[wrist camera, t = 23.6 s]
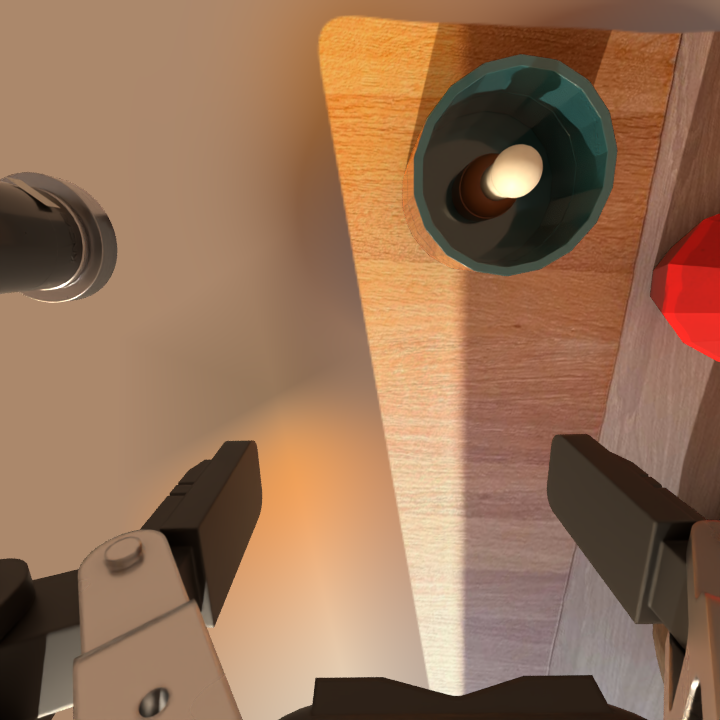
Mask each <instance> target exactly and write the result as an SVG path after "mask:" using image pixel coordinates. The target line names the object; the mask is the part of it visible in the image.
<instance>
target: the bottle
mask: <svg viewBox="0 0 720 720" xmlns="http://www.w3.org/2000/svg"><path fill="white" fill-rule="evenodd" d="M650 297H651V298H652V300H653V301H654V302H655V304H656V305H657V307H658V308H659V309H660V311H661V312H662V314H663V315H664V316H665V318H666V319H667V321H668V322H669V323H670V325H671V326H672V328H673V329H674V330H675V332H676V333H677V335H678V336H679V337H680V339H681V340H682V342H683V343H685V344H687V345H689V346H690V347H692V348H694V349H696V350H698V351H699V352H701V353H703V354H705V355H707V356H709V357H710V358H712V359H714V360H716V361H718V362H720V214H717V215H714V216H712V217H709V218H706V219H704V220H703V221H702V222H700V223H699V224H698V225H697V226H696V227H695V228H693V229H692V230H691V231H690V232H689V233H688V234H687V235H685V236H684V237H683V238H682V239H681V240H680V241H678V242H677V243H676V244H675V245H674V246H673V247H672V248H670V250H669V251H668V252H667V254H666V255H665V256H664V257H663V259H662V260H661V261H660V262H659V264H658V265H657V266H656V267H655V269H654V270H653V274H652V283H651V291H650Z"/></svg>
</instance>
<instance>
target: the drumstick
mask: <svg viewBox="0 0 720 720" xmlns="http://www.w3.org/2000/svg"><path fill="white" fill-rule="evenodd" d="M542 170H543V163H542V159H541V156H540V155H539V153H538V152H537V151H536V150H535V149H534V148H533V147H531V146H528V145H524V144H519V145H514V146H511V147H509V148H507V149H505V150H504V151H502V152H501V153H500V154H495V153H490V154H484V155H481V156H479V157H477V158H475V159H474V160H473V161H471V162H470V163H469V164H468V165H467V166H466V167H465V168H464V169H463V170H462V171H461V172H460V173H459V174H458V176H457V177H456V179H455V181H454V184H453V188H452V200H453V204H454V206H455V208H456V210H457V211H458V213H459V214H460V215H461V216H463V217H464V218H466V219H468V220H470V221H475V222H480V221H485V220H489V219H492V218H496V217H498V216H500V215H502V214H504V213H505V212H507V211H508V210H509V209H510V208H511V207H512V205H513V204H514V202H515V201H516V199H517V197H521V196H524V195H525V194H527V193H529V192H530V191H531V190H532V189H533V188H534V187H535V186H536V185H537V184H538V182H539V180H540V178H541V175H542Z"/></svg>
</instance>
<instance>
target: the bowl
mask: <svg viewBox="0 0 720 720" xmlns="http://www.w3.org/2000/svg"><path fill="white" fill-rule="evenodd" d="M519 144H524V145H528V146H531V147H533V148H534V149H535V150H536V151H537V152H538V153H539V155H540V156H541V159H542V163H543V170H542V175H541V178H540V180H539V182H538V184H537V185H536V186H535V187H534V188H533V189H532V190H531V191H530V192H529V193H527V194H525V195H524V196H521V197H517V199H516V201H515V202H514V204H513V205H512V207H511V208H510V209H509V210H508V211H507V212H505V213H504V214H502V215H500V216H498V217H496V218H492V219H489V220H485V221H480V222H475V221H470V220H468V219H466V218H464V217H463V216H461V215H460V214H459V213H458V211H457V210H456V208H455V206H454V204H453V200H452V188H453V184H454V181H455V179H456V177H457V176H458V174H459V173H460V172H461V171H462V170H463V169H464V168H465V167H466V166H467V165H468V164H469V163H470V162H471V161H473V160H474V159H475V158H477V157H479V156H481V155H484V154H490V153H495V154H500V153H501V152H502V151H504V150H505V149H507V148H509V147H511V146H514V145H519ZM616 158H617V145H616V140H615V135H614V130H613V125H612V121H611V116H610V112H609V110H608V108H607V107H606V105H605V104H604V102H603V101H602V99H601V98H600V96H599V95H598V93H597V92H596V90H595V88H594V87H593V85H592V84H591V82H590V81H589V80H588V79H586V78H585V77H583V76H582V75H580V74H579V73H577V72H576V71H574V70H573V69H571V68H570V67H568V66H567V65H565V64H564V63H562V62H561V61H558V60H555V59H549V58H543V57H537V56H531V55H524V54H519V55H515V56H511V57H507V58H503V59H498V60H494V61H490V62H486V63H484V64H482V65H480V66H479V67H477V68H476V69H475V70H473V71H472V72H470V73H469V74H467V75H466V76H464V77H463V78H462V79H460V80H459V81H457V82H456V83H454V84H453V85H451V87H450V88H449V89H448V90H447V92H446V93H445V94H444V96H443V97H442V98H441V100H440V101H439V102H438V104H437V105H436V107H435V108H434V109H433V111H432V112H431V113H430V115H429V116H428V117H427V119H426V121H425V123H424V126H423V128H422V130H421V132H420V134H419V137H418V139H417V141H416V143H415V146H414V148H413V150H412V153H411V156H410V159H409V162H408V165H407V168H406V171H405V174H404V177H403V190H402V199H403V211H404V214H405V218H406V221H407V224H408V227H409V229H410V231H411V234H412V236H413V237H414V238H415V240H416V241H417V243H418V244H419V245H420V246H421V247H422V248H423V250H424V251H425V252H426V253H427V254H428V255H429V256H431V257H432V258H434V259H436V260H437V261H439V262H441V263H443V264H445V265H446V266H448V267H450V268H453V269H460V270H467V271H473V272H480V273H487V274H494V275H501V276H511V275H516V274H520V273H525V272H530V271H535V270H540V269H542V268H543V267H545V266H547V265H549V264H550V263H552V262H554V261H555V260H557V259H559V258H560V257H562V256H564V255H566V254H567V253H569V252H570V251H572V250H573V248H574V247H575V246H576V245H577V244H578V243H579V242H580V241H581V240H582V238H583V237H584V236H585V235H586V234H587V233H588V232H589V231H590V230H591V228H592V227H593V226H594V225H595V224H596V223H597V221H598V218H599V216H600V214H601V212H602V210H603V208H604V206H605V203H606V201H607V199H608V197H609V195H610V193H611V190H612V188H613V182H614V174H615V166H616Z"/></svg>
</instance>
